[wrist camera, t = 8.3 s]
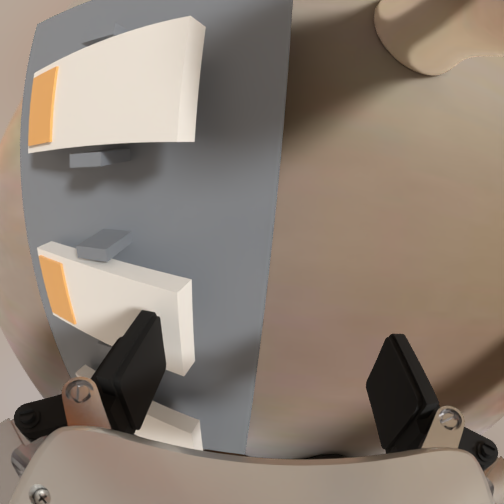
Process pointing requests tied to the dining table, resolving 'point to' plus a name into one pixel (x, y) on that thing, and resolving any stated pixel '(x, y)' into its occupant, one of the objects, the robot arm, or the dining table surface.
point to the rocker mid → (119, 300)
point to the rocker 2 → (164, 423)
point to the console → (176, 196)
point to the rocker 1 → (121, 90)
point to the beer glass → (440, 31)
